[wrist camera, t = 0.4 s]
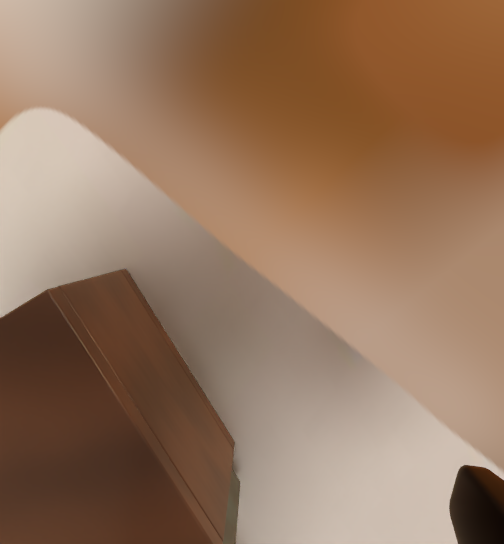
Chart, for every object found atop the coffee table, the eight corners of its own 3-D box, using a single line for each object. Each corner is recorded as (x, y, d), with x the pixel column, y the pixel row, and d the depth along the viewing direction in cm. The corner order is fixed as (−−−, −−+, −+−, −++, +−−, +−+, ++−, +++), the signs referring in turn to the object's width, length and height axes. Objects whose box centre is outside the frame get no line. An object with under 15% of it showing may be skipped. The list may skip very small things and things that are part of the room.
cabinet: (235, 442, 23) (221, 558, 15) (66, 537, 23) (-36, 697, 15) (126, 268, 22) (47, 288, 14) (-46, 372, 23) (-216, 449, 14)
